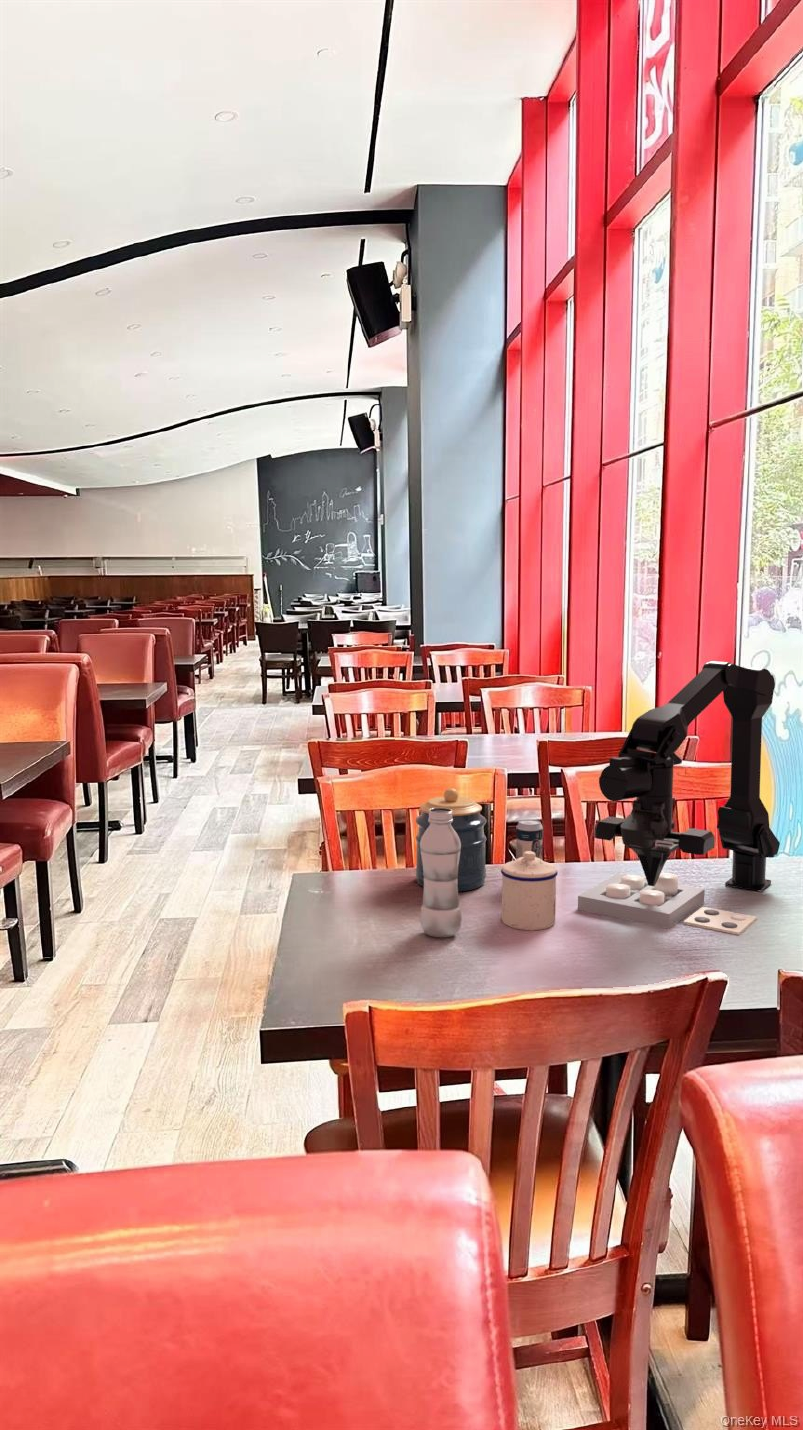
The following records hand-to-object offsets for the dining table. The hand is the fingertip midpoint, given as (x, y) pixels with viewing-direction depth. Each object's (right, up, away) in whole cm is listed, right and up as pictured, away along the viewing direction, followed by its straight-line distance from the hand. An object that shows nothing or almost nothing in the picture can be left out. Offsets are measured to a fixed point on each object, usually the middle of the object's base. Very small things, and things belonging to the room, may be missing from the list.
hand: (651, 885), depth 165 cm
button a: (-1, -3, +9) cm, 10 cm away
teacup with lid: (-21, -6, -1) cm, 22 cm away
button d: (0, -5, +1) cm, 5 cm away
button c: (-5, -4, +4) cm, 8 cm away
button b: (+4, -2, +5) cm, 7 cm away
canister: (-32, -3, +19) cm, 38 cm away
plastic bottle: (-35, -7, -8) cm, 37 cm away
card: (+10, -5, -3) cm, 12 cm away
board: (-1, -4, +5) cm, 7 cm away
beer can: (-18, -3, +16) cm, 25 cm away
